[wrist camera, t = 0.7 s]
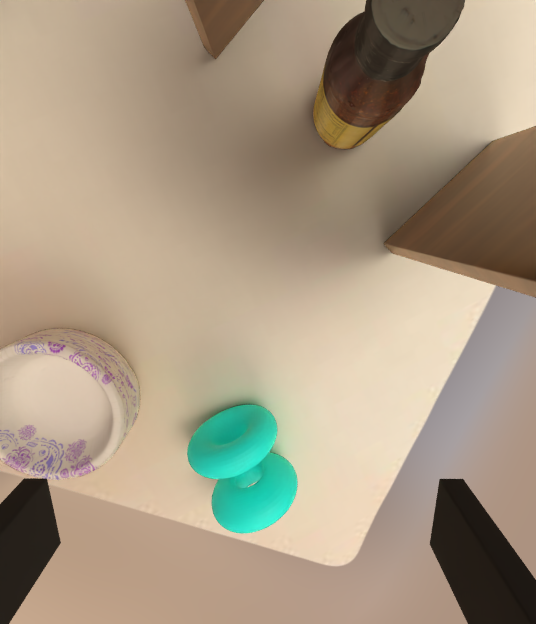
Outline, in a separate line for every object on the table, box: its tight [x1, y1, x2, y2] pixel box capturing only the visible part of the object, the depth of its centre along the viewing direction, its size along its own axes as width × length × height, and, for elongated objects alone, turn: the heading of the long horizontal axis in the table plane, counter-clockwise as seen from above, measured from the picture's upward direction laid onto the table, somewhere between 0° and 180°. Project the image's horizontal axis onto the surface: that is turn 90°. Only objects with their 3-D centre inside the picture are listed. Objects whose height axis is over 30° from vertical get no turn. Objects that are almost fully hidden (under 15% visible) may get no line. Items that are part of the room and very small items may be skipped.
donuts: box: [187, 404, 297, 533], centre depth 38 cm, size 10×10×10 cm
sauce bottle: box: [313, 0, 465, 149], centre depth 24 cm, size 6×6×20 cm
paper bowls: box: [0, 328, 140, 480], centre depth 38 cm, size 15×15×8 cm
